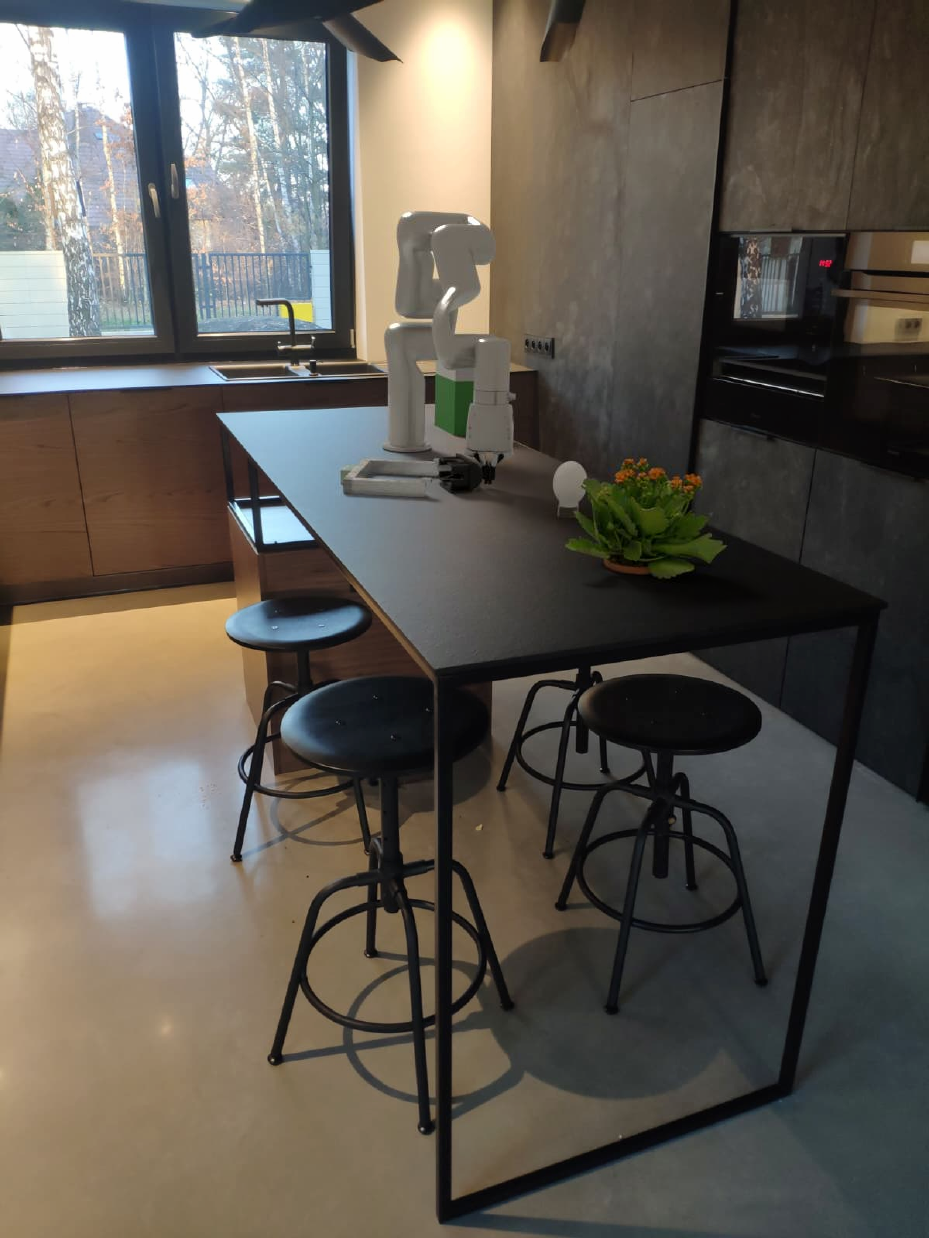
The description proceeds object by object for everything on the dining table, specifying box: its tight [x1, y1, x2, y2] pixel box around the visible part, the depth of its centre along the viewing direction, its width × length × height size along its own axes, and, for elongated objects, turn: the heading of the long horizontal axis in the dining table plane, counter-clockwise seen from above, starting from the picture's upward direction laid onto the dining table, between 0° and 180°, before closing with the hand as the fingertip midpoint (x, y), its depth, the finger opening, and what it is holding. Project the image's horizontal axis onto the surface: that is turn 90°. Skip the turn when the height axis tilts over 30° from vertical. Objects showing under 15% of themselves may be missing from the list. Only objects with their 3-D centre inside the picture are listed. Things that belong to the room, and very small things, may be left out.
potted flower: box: [564, 458, 728, 580], centre depth 156 cm, size 25×24×18 cm
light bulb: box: [552, 460, 588, 519], centre depth 186 cm, size 7×7×11 cm
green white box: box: [434, 360, 474, 437], centre depth 270 cm, size 18×7×24 cm, turn 20°
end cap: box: [438, 452, 483, 495], centre depth 206 cm, size 10×7×7 cm
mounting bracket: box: [340, 457, 440, 498], centre depth 209 cm, size 22×21×4 cm
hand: (488, 483), depth 207 cm, fingers closed
